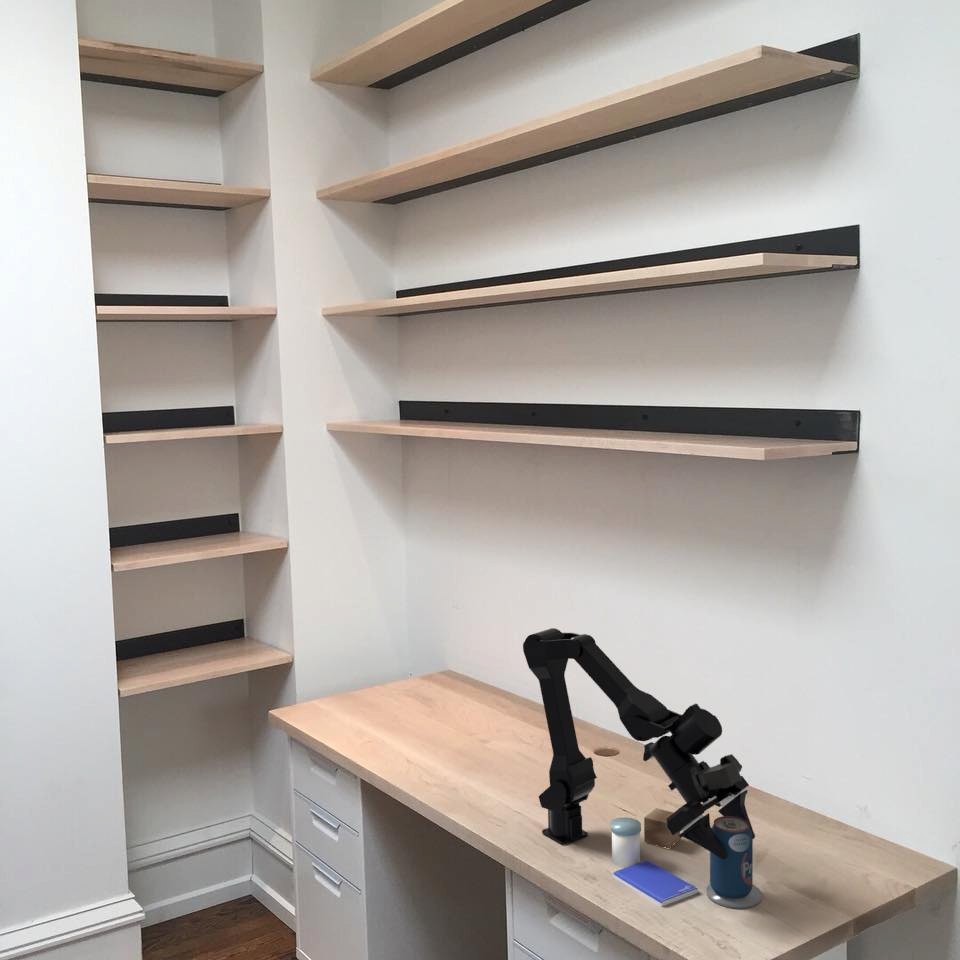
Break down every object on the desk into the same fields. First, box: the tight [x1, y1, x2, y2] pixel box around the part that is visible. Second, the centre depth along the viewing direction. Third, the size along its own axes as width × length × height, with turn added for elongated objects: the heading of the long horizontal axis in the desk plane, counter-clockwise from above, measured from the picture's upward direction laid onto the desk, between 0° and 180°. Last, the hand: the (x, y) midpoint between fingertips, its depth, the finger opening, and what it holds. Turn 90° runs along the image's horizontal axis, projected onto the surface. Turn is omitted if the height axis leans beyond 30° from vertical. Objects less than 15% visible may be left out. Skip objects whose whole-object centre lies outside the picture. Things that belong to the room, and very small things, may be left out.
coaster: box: [706, 883, 763, 910], centre depth 174 cm, size 9×9×1 cm
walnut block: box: [643, 807, 681, 849], centre depth 195 cm, size 5×5×5 cm
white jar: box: [610, 817, 642, 868], centre depth 187 cm, size 5×5×7 cm
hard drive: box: [612, 860, 699, 907], centre depth 178 cm, size 2×8×12 cm
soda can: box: [709, 815, 754, 900], centre depth 173 cm, size 7×7×12 cm
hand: (739, 848), depth 173 cm, fingers open, 9 cm apart
